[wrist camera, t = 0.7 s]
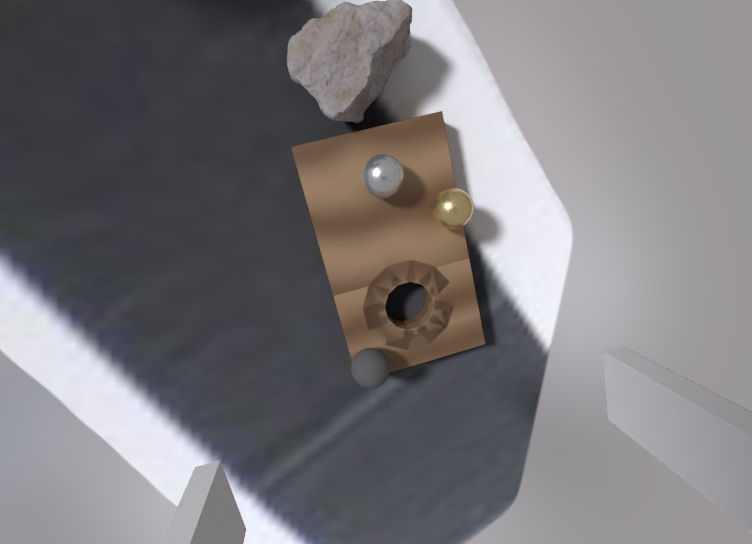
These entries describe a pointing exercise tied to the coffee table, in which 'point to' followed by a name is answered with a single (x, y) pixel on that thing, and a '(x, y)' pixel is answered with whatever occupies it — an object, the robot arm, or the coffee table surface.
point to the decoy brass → (452, 208)
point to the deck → (391, 241)
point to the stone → (349, 55)
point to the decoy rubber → (370, 367)
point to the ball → (382, 176)
